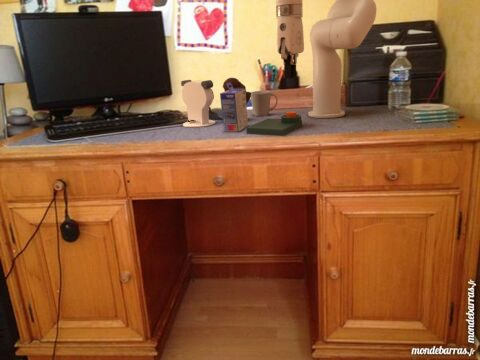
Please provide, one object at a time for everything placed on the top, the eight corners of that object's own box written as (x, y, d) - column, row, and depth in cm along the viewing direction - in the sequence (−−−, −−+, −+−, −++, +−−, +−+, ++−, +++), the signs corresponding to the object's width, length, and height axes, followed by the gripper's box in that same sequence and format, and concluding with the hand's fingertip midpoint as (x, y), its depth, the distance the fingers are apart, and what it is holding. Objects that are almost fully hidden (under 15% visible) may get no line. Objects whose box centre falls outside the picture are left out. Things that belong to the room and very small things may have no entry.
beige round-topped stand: (223, 122, 137) (220, 78, 132) (202, 128, 129) (197, 82, 124) (197, 120, 144) (194, 78, 139) (176, 126, 136) (171, 82, 131)
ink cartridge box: (233, 125, 130) (230, 81, 126) (248, 125, 129) (246, 80, 124) (222, 132, 122) (218, 84, 117) (238, 132, 120) (235, 84, 115)
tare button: (288, 116, 123) (288, 111, 123) (297, 116, 122) (297, 111, 121) (284, 118, 121) (284, 113, 120) (293, 118, 119) (293, 113, 119)
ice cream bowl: (249, 122, 133) (247, 77, 128) (218, 123, 135) (215, 79, 130) (254, 117, 143) (252, 75, 138) (225, 117, 145) (222, 76, 140)
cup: (251, 113, 150) (250, 91, 147) (277, 112, 150) (276, 89, 147) (251, 117, 143) (250, 93, 140) (278, 115, 142) (277, 92, 140)
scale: (268, 124, 129) (267, 113, 128) (303, 125, 123) (303, 114, 122) (246, 133, 117) (246, 122, 116) (285, 136, 111) (284, 124, 110)
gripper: (291, 10, 103) (292, 80, 109) (310, 12, 116) (310, 75, 122) (266, 13, 107) (268, 81, 113) (287, 14, 119) (288, 76, 125)
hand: (290, 78), depth 117 cm, fingers closed
